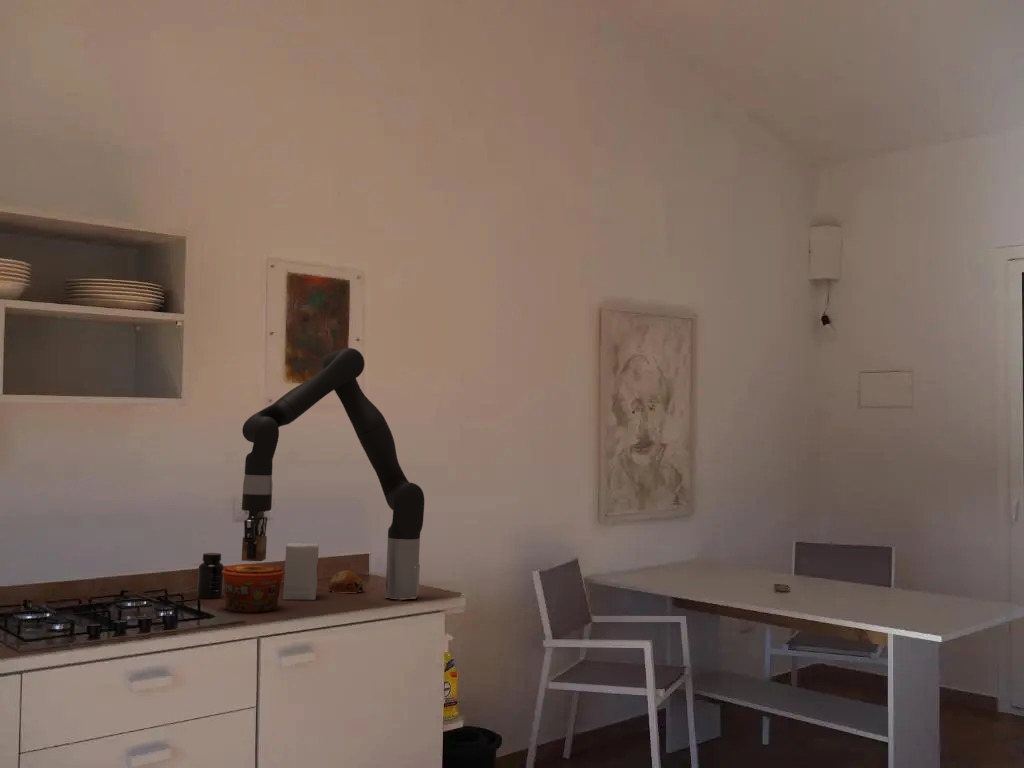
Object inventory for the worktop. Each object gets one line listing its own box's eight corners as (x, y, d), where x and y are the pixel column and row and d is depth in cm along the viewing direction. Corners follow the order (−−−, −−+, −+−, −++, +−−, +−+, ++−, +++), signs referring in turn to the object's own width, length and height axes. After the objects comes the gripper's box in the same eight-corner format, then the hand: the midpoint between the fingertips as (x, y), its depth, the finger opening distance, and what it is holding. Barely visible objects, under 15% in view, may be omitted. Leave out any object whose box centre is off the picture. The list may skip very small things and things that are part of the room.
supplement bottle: (192, 596, 274) (194, 553, 275) (214, 594, 279) (216, 551, 280) (205, 600, 270) (207, 555, 270) (227, 597, 275) (229, 554, 275)
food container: (241, 616, 247) (243, 573, 248) (207, 607, 258) (210, 566, 259) (295, 610, 259) (297, 568, 260) (260, 602, 270) (262, 562, 270)
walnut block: (265, 559, 262) (266, 536, 262) (260, 561, 257) (261, 538, 257) (246, 558, 262) (248, 535, 262) (241, 560, 257) (242, 537, 257)
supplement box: (315, 600, 275) (318, 546, 276) (282, 600, 274) (285, 545, 275) (316, 595, 284) (319, 542, 285) (285, 595, 283) (287, 542, 284)
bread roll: (350, 600, 300) (343, 575, 302) (373, 589, 294) (366, 564, 297) (326, 604, 292) (319, 578, 294) (349, 593, 286) (342, 566, 289)
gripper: (264, 494, 253) (261, 561, 252) (278, 491, 267) (275, 555, 266) (235, 493, 253) (231, 560, 252) (250, 490, 267) (247, 554, 266)
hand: (254, 557), depth 259 cm, fingers closed on walnut block, 5 cm apart
